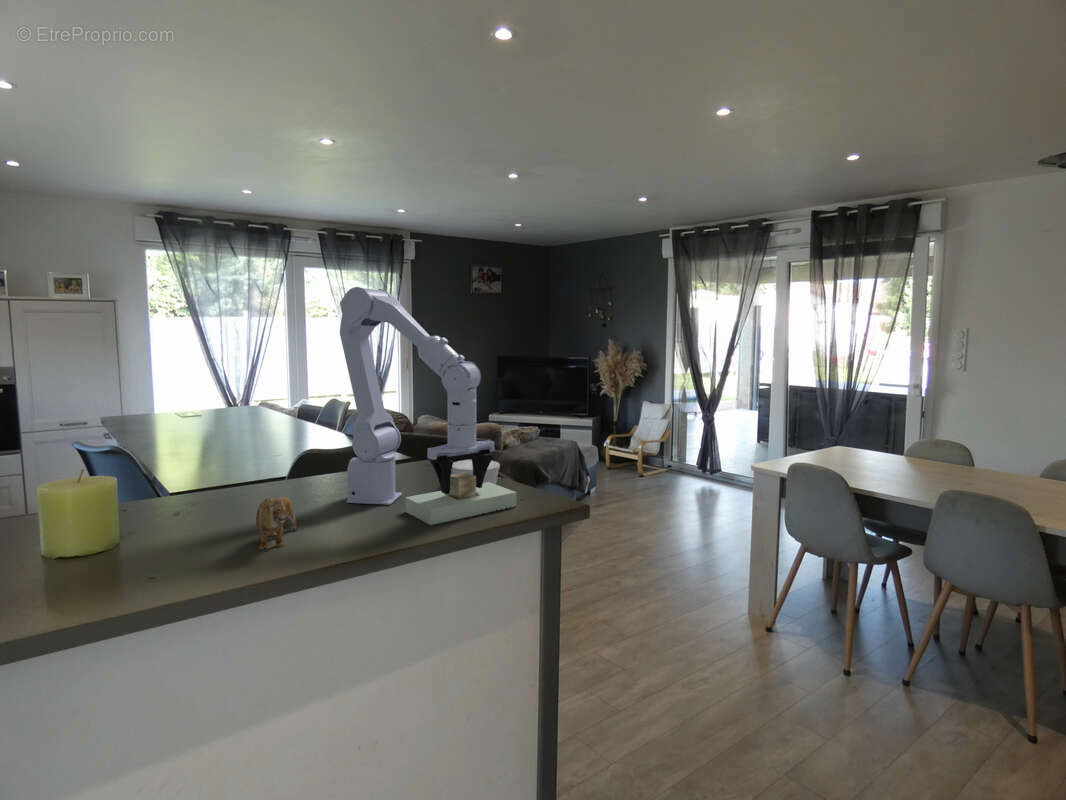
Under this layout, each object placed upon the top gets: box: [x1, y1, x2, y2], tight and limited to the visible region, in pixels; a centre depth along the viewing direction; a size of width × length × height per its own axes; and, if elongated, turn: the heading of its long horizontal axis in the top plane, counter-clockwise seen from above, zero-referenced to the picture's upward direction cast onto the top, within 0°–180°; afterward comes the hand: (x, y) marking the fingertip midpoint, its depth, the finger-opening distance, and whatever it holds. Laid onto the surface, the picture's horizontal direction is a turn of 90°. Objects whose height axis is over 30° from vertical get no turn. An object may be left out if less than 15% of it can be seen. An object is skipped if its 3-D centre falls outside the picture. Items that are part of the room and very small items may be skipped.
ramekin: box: [451, 459, 501, 485], centre depth 143 cm, size 11×11×5 cm
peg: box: [448, 472, 476, 500], centre depth 125 cm, size 4×4×7 cm
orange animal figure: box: [255, 496, 298, 549], centre depth 106 cm, size 15×5×9 cm, turn 15°
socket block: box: [404, 482, 518, 526], centre depth 126 cm, size 20×10×3 cm, turn 129°
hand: (461, 489), depth 125 cm, fingers open, 7 cm apart
